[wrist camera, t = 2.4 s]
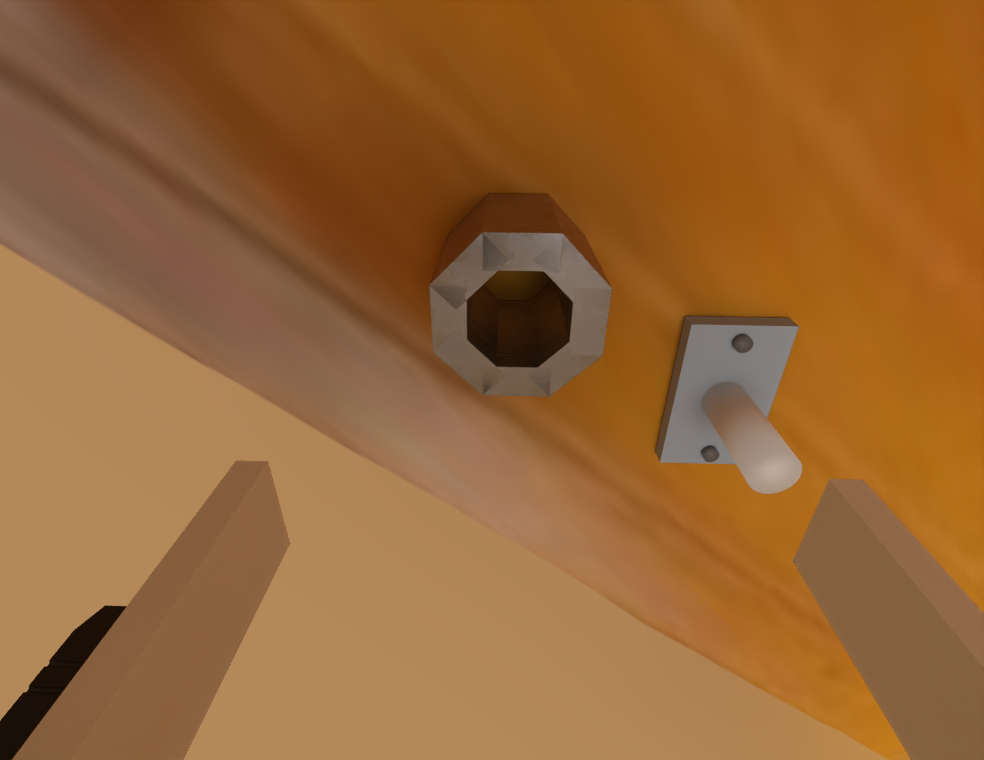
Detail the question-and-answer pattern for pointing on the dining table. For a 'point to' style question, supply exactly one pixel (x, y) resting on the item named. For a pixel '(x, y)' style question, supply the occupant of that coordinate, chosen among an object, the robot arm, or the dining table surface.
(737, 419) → the shaft stand
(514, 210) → the tube
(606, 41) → the dining table surface
